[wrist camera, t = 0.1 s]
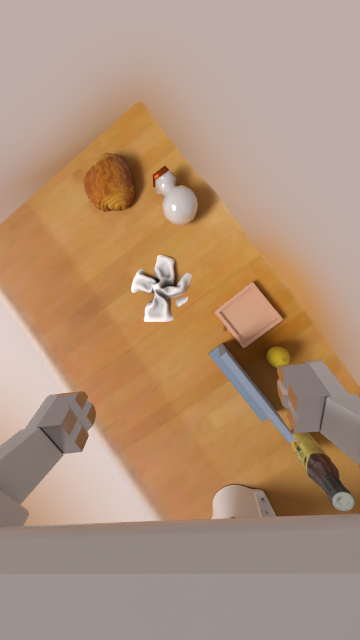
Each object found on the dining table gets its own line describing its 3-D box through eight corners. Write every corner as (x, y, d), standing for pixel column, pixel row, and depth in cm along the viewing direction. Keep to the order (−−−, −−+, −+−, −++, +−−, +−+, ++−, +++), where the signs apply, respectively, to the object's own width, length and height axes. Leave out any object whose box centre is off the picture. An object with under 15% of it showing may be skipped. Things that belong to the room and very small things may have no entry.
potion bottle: (189, 234, 64) (164, 195, 66) (211, 207, 57) (182, 164, 59) (167, 233, 57) (140, 190, 59) (189, 202, 50) (158, 155, 53)
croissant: (132, 161, 66) (121, 137, 58) (141, 208, 64) (131, 189, 56) (88, 175, 67) (72, 153, 60) (96, 221, 65) (80, 205, 58)
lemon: (277, 340, 60) (287, 345, 52) (287, 357, 60) (299, 365, 52) (259, 350, 61) (266, 356, 53) (269, 367, 61) (278, 375, 53)
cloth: (154, 334, 66) (148, 336, 60) (119, 284, 66) (110, 282, 60) (215, 289, 63) (216, 287, 56) (177, 238, 63) (174, 231, 57)
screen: (275, 410, 61) (295, 439, 47) (261, 419, 62) (276, 451, 48) (222, 342, 62) (226, 352, 49) (208, 353, 63) (208, 365, 49)
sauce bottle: (283, 430, 61) (318, 488, 42) (305, 423, 60) (352, 479, 41) (293, 452, 61) (332, 520, 42) (315, 445, 60) (366, 511, 41)
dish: (281, 319, 60) (283, 319, 58) (242, 347, 62) (243, 348, 60) (251, 282, 61) (252, 281, 59) (214, 311, 62) (214, 311, 60)
